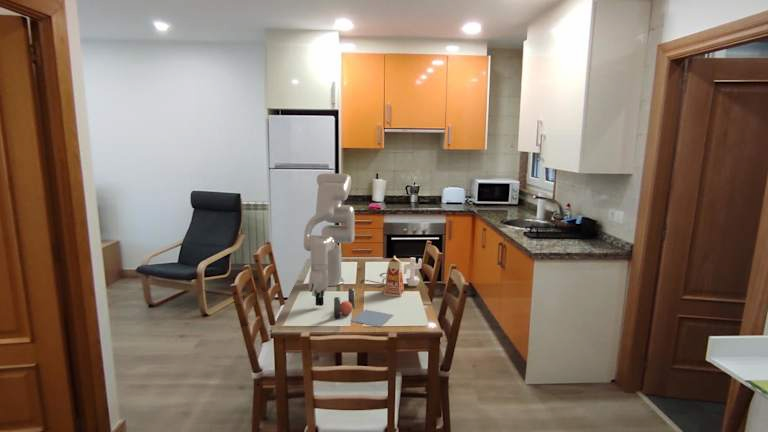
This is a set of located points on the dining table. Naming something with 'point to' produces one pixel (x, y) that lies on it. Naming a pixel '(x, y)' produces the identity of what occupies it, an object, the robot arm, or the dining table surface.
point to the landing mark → (372, 318)
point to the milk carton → (394, 278)
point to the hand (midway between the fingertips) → (319, 304)
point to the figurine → (412, 272)
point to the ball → (346, 307)
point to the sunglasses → (377, 282)
